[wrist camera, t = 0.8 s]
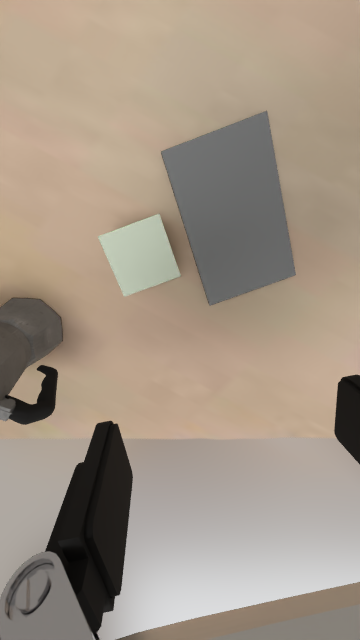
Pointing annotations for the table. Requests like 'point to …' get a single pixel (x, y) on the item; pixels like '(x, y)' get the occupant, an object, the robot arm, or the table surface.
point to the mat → (232, 207)
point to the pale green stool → (140, 255)
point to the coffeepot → (27, 356)
